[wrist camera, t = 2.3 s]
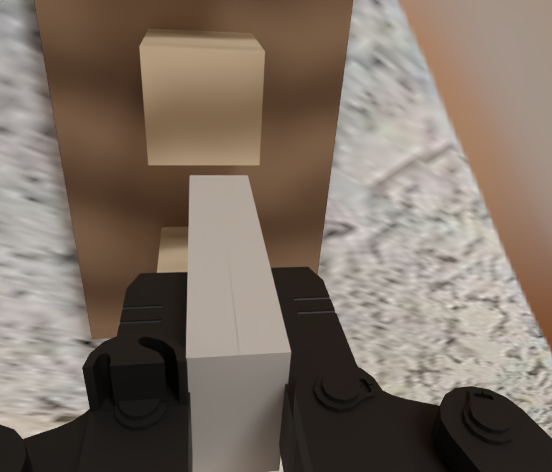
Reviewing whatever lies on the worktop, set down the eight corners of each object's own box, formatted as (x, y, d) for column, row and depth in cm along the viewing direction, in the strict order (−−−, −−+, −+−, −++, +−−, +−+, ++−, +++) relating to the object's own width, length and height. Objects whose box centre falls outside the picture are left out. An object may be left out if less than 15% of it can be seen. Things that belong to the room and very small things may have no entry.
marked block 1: (161, 227, 29) (156, 277, 24) (245, 225, 30) (254, 274, 25) (165, 294, 31) (161, 351, 27) (242, 290, 32) (250, 345, 28)
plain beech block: (148, 28, 23) (139, 46, 19) (251, 33, 24) (265, 51, 20) (155, 129, 26) (148, 165, 21) (248, 130, 27) (259, 165, 22)
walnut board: (-25, -436, 17) (-49, -479, 15) (384, -360, 19) (403, -389, 18) (97, 319, 34) (92, 339, 32) (305, 309, 36) (310, 327, 35)
